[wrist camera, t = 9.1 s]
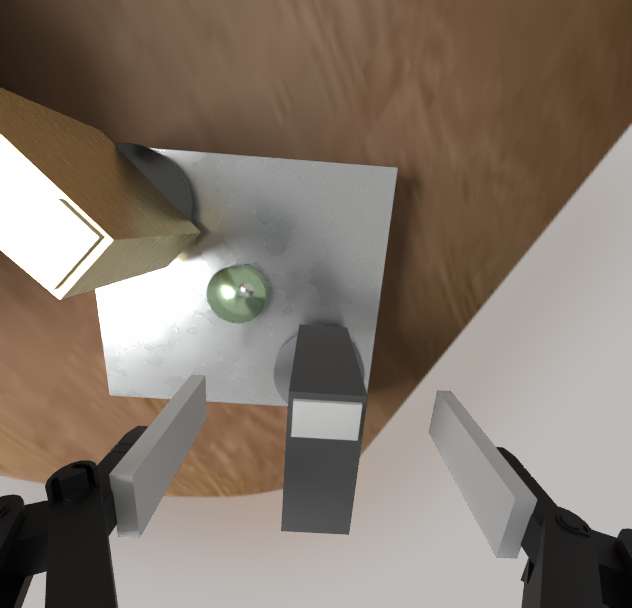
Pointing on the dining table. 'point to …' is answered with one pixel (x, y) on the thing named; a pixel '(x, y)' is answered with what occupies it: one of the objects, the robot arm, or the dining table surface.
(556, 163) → the dining table surface
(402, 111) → the dining table surface
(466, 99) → the dining table surface
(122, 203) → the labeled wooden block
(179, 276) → the plate
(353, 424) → the dark grey block
